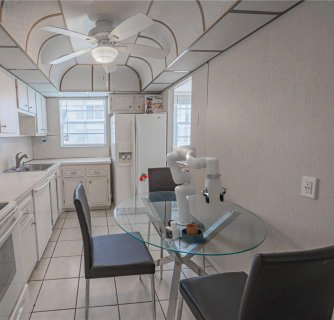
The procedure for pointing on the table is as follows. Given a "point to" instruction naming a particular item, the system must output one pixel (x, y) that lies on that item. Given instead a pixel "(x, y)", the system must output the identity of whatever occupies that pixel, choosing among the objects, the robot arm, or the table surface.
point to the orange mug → (191, 229)
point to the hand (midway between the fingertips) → (214, 202)
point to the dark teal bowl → (192, 239)
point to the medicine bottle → (172, 230)
